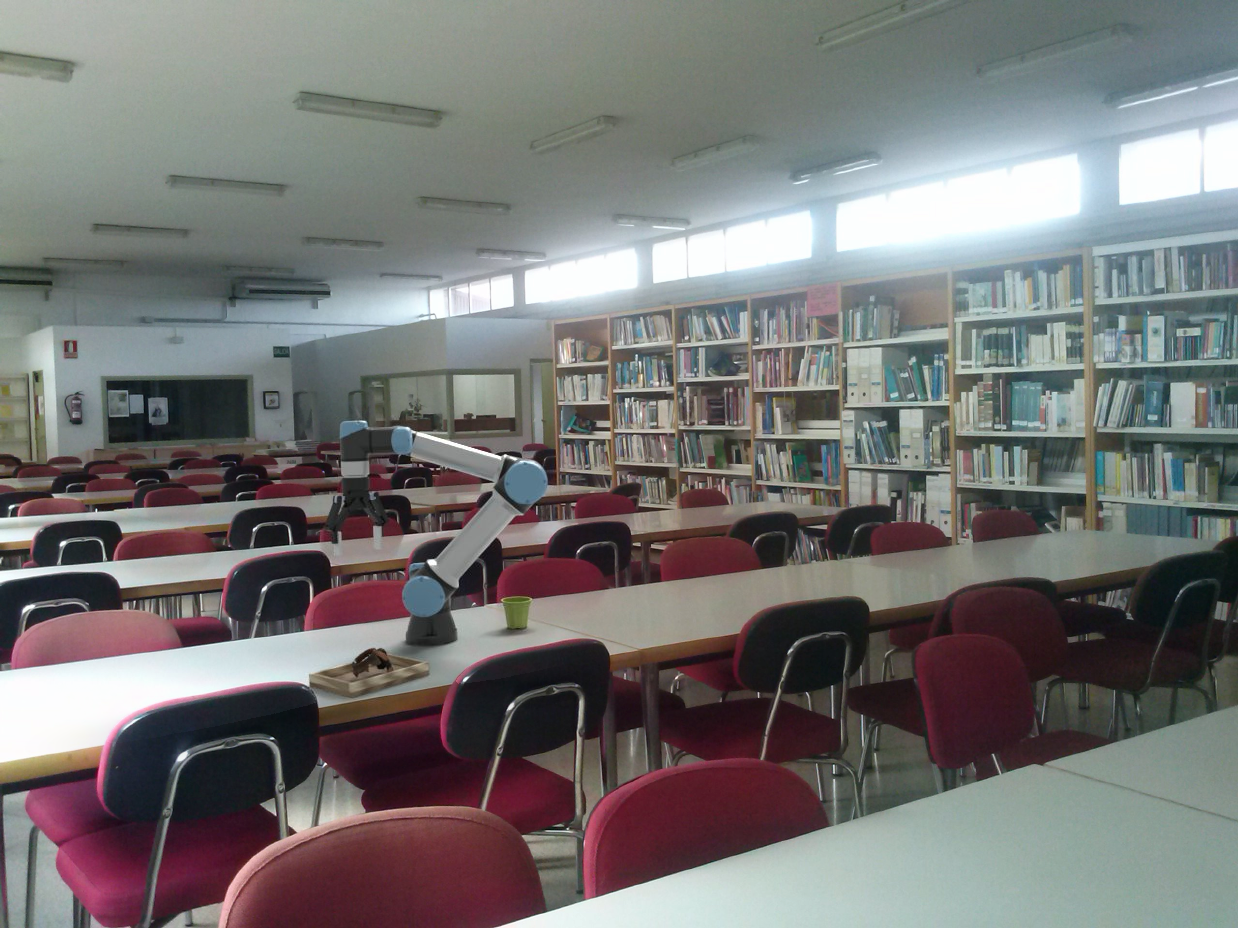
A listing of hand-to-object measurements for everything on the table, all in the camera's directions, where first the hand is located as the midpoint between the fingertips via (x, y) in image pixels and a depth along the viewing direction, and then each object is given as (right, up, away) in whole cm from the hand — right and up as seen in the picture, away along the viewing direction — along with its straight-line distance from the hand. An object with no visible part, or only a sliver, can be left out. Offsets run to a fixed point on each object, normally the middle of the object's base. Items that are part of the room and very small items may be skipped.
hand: (358, 552), depth 274 cm
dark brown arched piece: (+11, -29, -26) cm, 41 cm away
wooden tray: (+10, -30, -26) cm, 41 cm away
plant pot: (+41, -26, +31) cm, 58 cm away
